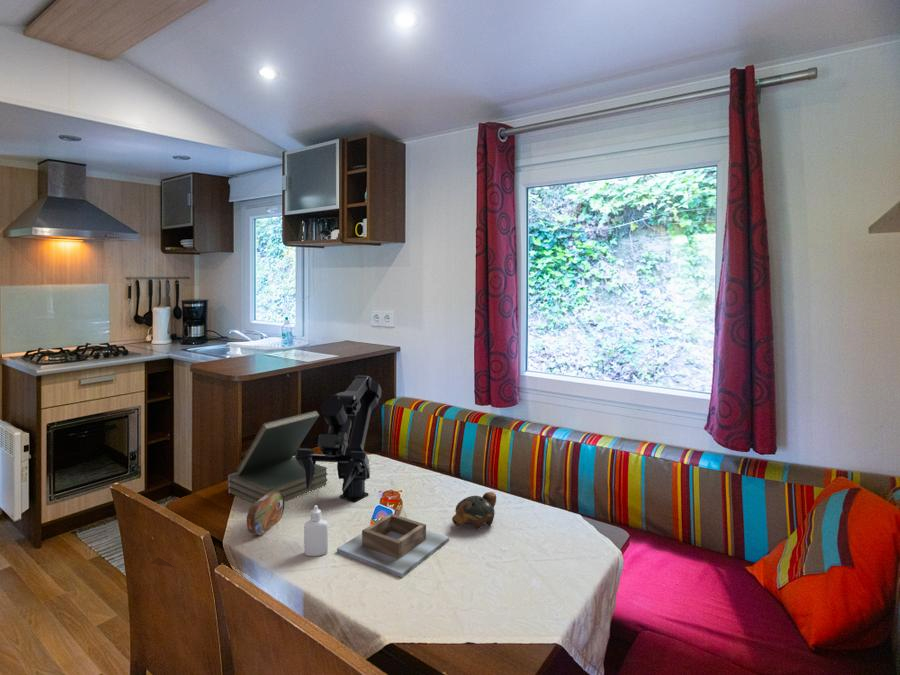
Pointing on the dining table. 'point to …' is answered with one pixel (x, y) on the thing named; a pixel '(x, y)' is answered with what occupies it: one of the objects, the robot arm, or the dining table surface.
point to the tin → (265, 513)
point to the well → (394, 544)
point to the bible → (276, 461)
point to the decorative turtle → (475, 510)
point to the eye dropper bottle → (316, 534)
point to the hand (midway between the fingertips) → (325, 489)
